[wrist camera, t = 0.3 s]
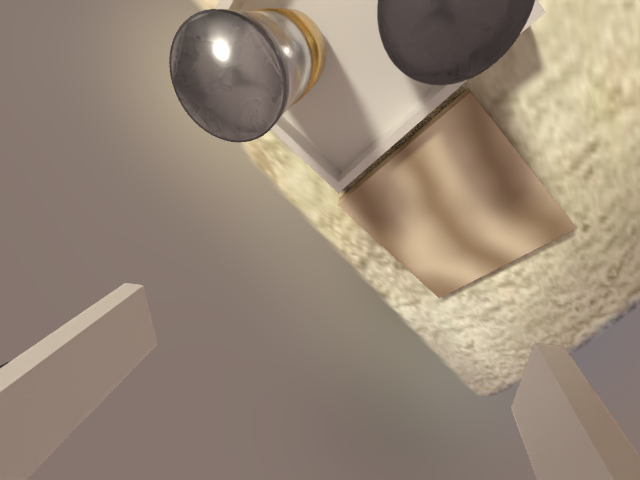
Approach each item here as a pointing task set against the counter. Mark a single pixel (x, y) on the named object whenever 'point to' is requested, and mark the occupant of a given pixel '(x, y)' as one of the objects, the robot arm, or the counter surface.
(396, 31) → the clear grey lidded jar
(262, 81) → the lidded honey jar
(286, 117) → the white shaker tray
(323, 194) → the counter surface
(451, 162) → the board
